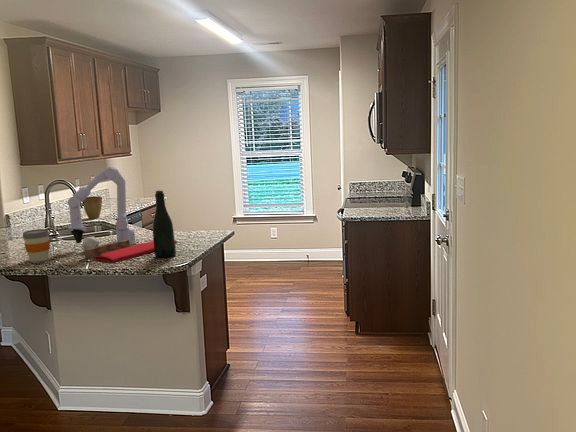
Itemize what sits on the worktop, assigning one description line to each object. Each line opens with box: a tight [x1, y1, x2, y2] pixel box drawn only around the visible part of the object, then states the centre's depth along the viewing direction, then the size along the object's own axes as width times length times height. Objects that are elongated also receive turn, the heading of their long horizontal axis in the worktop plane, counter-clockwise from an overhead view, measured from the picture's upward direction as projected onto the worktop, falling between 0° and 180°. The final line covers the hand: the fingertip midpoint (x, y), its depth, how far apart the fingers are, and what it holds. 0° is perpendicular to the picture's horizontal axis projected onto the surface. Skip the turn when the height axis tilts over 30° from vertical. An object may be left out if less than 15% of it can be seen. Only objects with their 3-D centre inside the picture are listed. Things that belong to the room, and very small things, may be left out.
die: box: [81, 236, 100, 250], centre depth 301 cm, size 8×9×10 cm
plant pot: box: [83, 195, 103, 220], centre depth 424 cm, size 15×15×16 cm
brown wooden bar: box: [83, 240, 131, 260], centre depth 294 cm, size 26×3×4 cm, turn 144°
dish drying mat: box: [94, 240, 178, 263], centre depth 291 cm, size 16×41×4 cm, turn 141°
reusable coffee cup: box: [22, 228, 51, 263], centre depth 287 cm, size 13×12×15 cm
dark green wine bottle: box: [152, 189, 177, 259], centre depth 276 cm, size 10×10×33 cm
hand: (79, 242), depth 307 cm, fingers closed
